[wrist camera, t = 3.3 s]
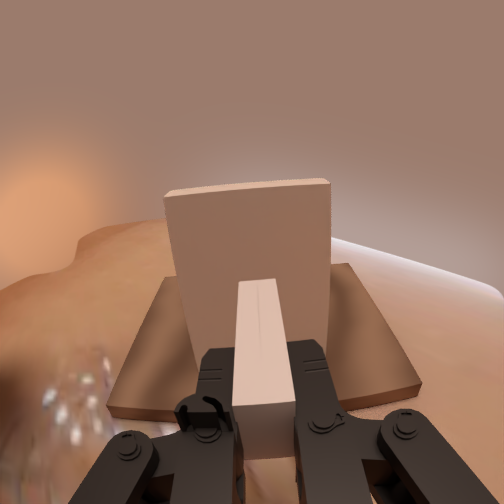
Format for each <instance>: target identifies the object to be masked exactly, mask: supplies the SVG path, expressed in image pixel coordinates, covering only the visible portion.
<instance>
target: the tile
mask: <svg viewBox="0 0 504 504" xmlns="http://www.w3.org/2000/svg"><path fill="white" fill-rule="evenodd" d="M163 201H164V207H165V214H166V220H167V226H168V232H169V238H170V243H171V249H172V254H173V260H174V265H175V270H176V275H177V280H178V285H179V290H180V295H181V299H182V304H183V309H184V313H185V318H186V322H187V326H188V331H189V335H190V339H191V343H192V348H193V352H194V356H195V360H196V364H197V368H198V371H199V372H200V364H201V359H202V357H203V356H204V355H205V353H206V352H207V351H208V350H209V349H210V348H228V347H235V339H236V321H237V304H238V287H239V282H241V281H252V280H264V279H276V285H277V291H278V297H279V302H280V308H281V314H282V320H283V326H284V332H285V338H286V342H290V341H300V340H308V339H314V340H315V341H316V342H317V343H318V344H319V345H320V346H321V347H322V348H323V351H324V354H325V357H326V345H327V331H328V314H329V294H330V266H331V183H329V182H328V181H326V180H325V179H324V178H315V179H296V180H281V181H280V180H279V181H264V182H251V183H239V184H228V185H218V186H209V187H208V186H207V187H198V188H189V189H181V190H171V191H170V192H168V193H167V194H166V195H165V196H164V197H163Z"/></svg>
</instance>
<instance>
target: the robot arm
mask: <svg viewBox="0 0 504 504" xmlns="http://www.w3.org/2000/svg"><path fill="white" fill-rule="evenodd" d="M174 414H175V417H176V419H177V421H178V424H179V426H180V428H181V430H179V431H177V432H176V433H173V434H170V435H166V436H162V437H157V438H152V439H150V438H149V437H148V436H147V435H146V434H144V433H142V432H140V431H133V430H130V431H124V432H121V433H119V434H117V435H115V436H114V437H113V438H112V439H111V440H110V441H109V442H108V443H107V445H106V446H105V448H104V449H103V451H102V452H101V454H100V455H99V457H98V459H97V460H96V462H95V463H94V465H93V466H92V468H91V469H90V471H89V472H88V474H87V475H86V477H85V478H84V480H83V481H82V483H81V484H80V486H79V487H78V489H77V491H76V492H75V494H74V495H73V497H72V498H71V500H70V501H69V503H68V504H245V473H244V469H243V464H244V460H255V459H270V458H282V457H292V456H295V459H296V482H297V487H298V496H299V504H373V502H372V498H371V494H372V496H373V498H374V499H375V501H376V503H377V504H499V503H498V501H497V500H496V499H495V498H494V497H493V495H492V494H491V493H490V492H489V490H488V489H487V488H486V487H485V486H484V484H483V483H482V482H481V481H480V480H479V479H478V477H477V476H476V475H475V474H474V473H473V471H472V470H471V469H470V468H469V467H468V465H467V464H466V463H465V462H464V461H463V460H462V458H461V457H460V456H459V455H458V454H457V452H456V451H455V450H454V449H453V448H452V447H451V445H450V444H449V443H448V442H447V441H446V440H445V438H444V437H443V436H442V435H441V434H440V433H439V432H438V430H437V429H436V428H435V427H434V426H433V425H432V423H431V422H430V421H429V420H428V419H427V418H426V417H425V416H424V415H423V414H421V413H420V412H418V411H415V410H412V409H399V410H395V411H392V412H391V413H390V414H388V415H387V416H386V417H385V418H384V420H369V419H361V418H357V417H354V416H351V415H350V414H348V413H347V412H345V411H344V409H343V408H342V407H341V405H340V403H339V401H338V397H337V394H336V390H335V387H334V384H333V380H332V377H331V374H330V370H329V367H328V364H327V361H326V357H325V354H324V351H323V348H322V347H321V346H320V345H319V344H318V343H317V342H316V341H315V340H314V339H308V340H300V341H290V342H286V338H285V332H284V326H283V320H282V314H281V308H280V302H279V297H278V291H277V285H276V279H264V280H252V281H241V282H239V287H238V304H237V321H236V339H235V347H228V348H210V349H209V350H208V351H207V352H206V353H205V355H204V356H203V357H202V359H201V364H200V372H199V376H198V381H197V387H196V393H195V394H192V395H190V396H188V397H185V398H184V399H182V400H181V401H180V402H179V403H178V404H177V406H176V408H175V410H174ZM370 493H371V494H370Z"/></svg>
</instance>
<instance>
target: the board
mask: <svg viewBox="0 0 504 504" xmlns="http://www.w3.org/2000/svg"><path fill="white" fill-rule="evenodd" d="M326 361H327V364H328V367H329V370H330V374H331V377H332V380H333V384H334V387H335V390H336V394H337V397H338V401H339V403H340V405H341V407H342V408H343V409H344V411H351V410H356V409H362V408H367V407H372V406H377V405H381V404H386V403H390V402H395V401H399V400H403V399H407V398H411V397H415V396H418V393H419V390H420V388H421V385H422V382H421V380H420V378H419V376H418V375H417V373H416V371H415V369H414V367H413V366H412V364H411V362H410V361H409V359H408V357H407V355H406V354H405V352H404V350H403V349H402V347H401V345H400V344H399V342H398V340H397V339H396V337H395V335H394V334H393V332H392V330H391V329H390V327H389V325H388V324H387V322H386V321H385V319H384V317H383V316H382V314H381V313H380V311H379V309H378V308H377V306H376V305H375V303H374V301H373V300H372V298H371V297H370V295H369V294H368V292H367V291H366V289H365V288H364V286H363V284H362V283H361V281H360V280H359V278H358V277H357V275H356V274H355V272H354V271H353V269H352V268H351V266H350V265H349V263H342V264H331V266H330V294H329V314H328V331H327V345H326ZM198 376H199V371H198V368H197V364H196V360H195V356H194V352H193V348H192V343H191V339H190V335H189V331H188V326H187V322H186V318H185V313H184V309H183V304H182V299H181V295H180V290H179V285H178V280H177V276H173V277H165V278H164V280H163V282H162V284H161V286H160V288H159V290H158V292H157V294H156V296H155V298H154V300H153V302H152V304H151V306H150V308H149V310H148V312H147V315H146V317H145V319H144V321H143V323H142V325H141V327H140V329H139V331H138V334H137V336H136V338H135V340H134V342H133V344H132V347H131V349H130V351H129V353H128V355H127V358H126V360H125V362H124V364H123V367H122V369H121V371H120V373H119V376H118V378H117V380H116V383H115V385H114V387H113V390H112V392H111V394H110V397H109V399H108V402H107V404H106V406H107V408H108V410H109V411H110V413H111V415H112V416H113V417H116V418H125V419H136V420H147V421H162V422H178V421H177V419H176V417H175V414H174V410H175V408H176V406H177V404H178V403H179V402H180V401H181V400H182V399H184V398H185V397H188V396H190V395H192V394H195V393H196V387H197V381H198Z"/></svg>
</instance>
